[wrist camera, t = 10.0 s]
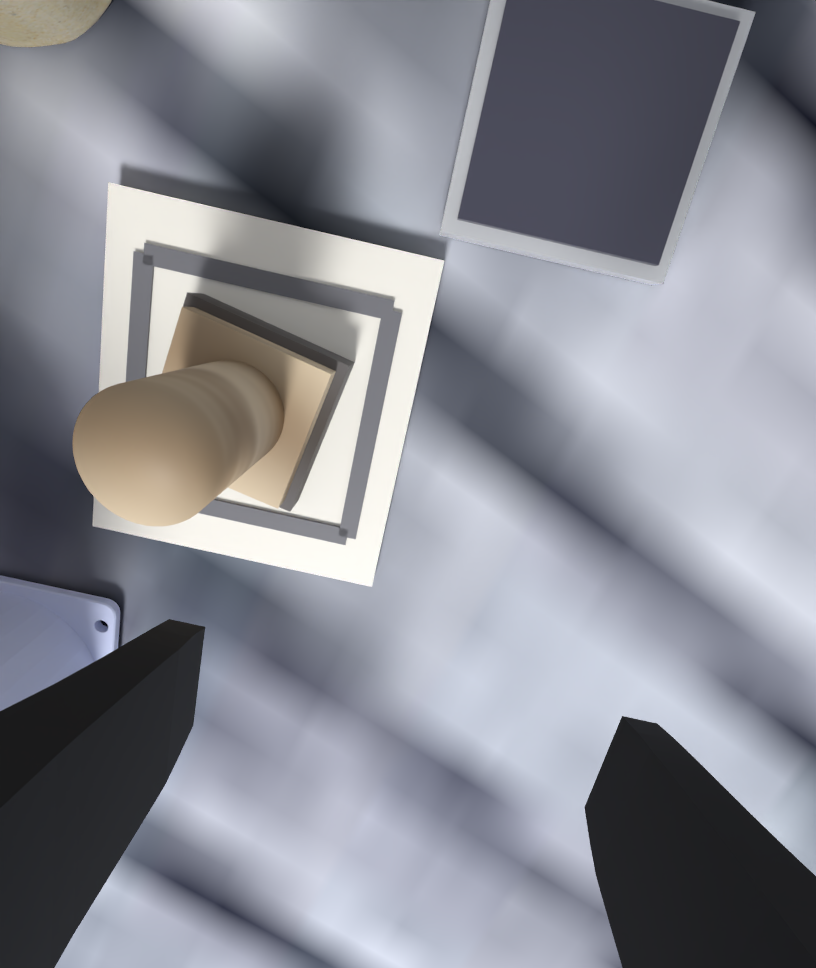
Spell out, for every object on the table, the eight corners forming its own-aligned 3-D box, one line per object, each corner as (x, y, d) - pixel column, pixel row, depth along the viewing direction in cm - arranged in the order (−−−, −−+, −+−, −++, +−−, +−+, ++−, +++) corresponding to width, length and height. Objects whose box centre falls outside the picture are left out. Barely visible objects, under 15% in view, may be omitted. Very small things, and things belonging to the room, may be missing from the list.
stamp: (299, 499, 19) (224, 604, 12) (158, 439, 18) (1, 513, 12) (354, 362, 17) (306, 394, 11) (203, 293, 17) (53, 282, 10)
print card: (373, 578, 20) (371, 588, 20) (102, 519, 20) (90, 527, 19) (444, 262, 17) (444, 260, 16) (119, 186, 17) (106, 181, 16)
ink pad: (651, 285, 17) (667, 283, 16) (439, 235, 17) (440, 229, 15) (737, 29, 15) (762, 6, 14) (497, -30, 15) (502, -59, 14)
